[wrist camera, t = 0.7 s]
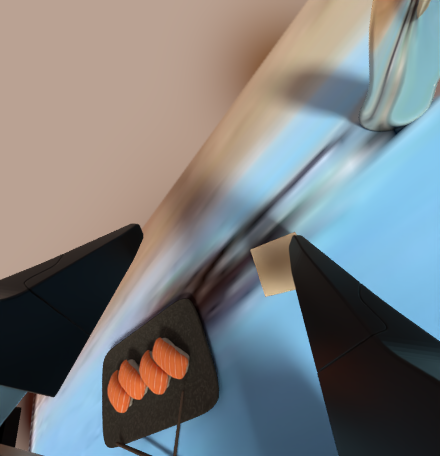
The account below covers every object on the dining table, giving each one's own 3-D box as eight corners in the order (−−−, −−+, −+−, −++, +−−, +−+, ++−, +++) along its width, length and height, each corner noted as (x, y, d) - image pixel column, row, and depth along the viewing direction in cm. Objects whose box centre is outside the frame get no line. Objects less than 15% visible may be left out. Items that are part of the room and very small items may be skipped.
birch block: (321, 282, 18) (319, 283, 13) (280, 293, 20) (265, 296, 16) (302, 243, 20) (294, 231, 16) (266, 256, 23) (250, 249, 18)
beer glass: (358, 143, 20) (401, -59, 8) (350, 102, 22) (376, -110, 10) (447, 118, 16) (771, -330, 4) (428, 71, 18) (618, -330, 6)
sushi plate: (196, 290, 28) (180, 291, 25) (323, 661, 12) (322, 787, 9) (111, 352, 37) (91, 358, 34) (119, 617, 21) (83, 675, 18)
